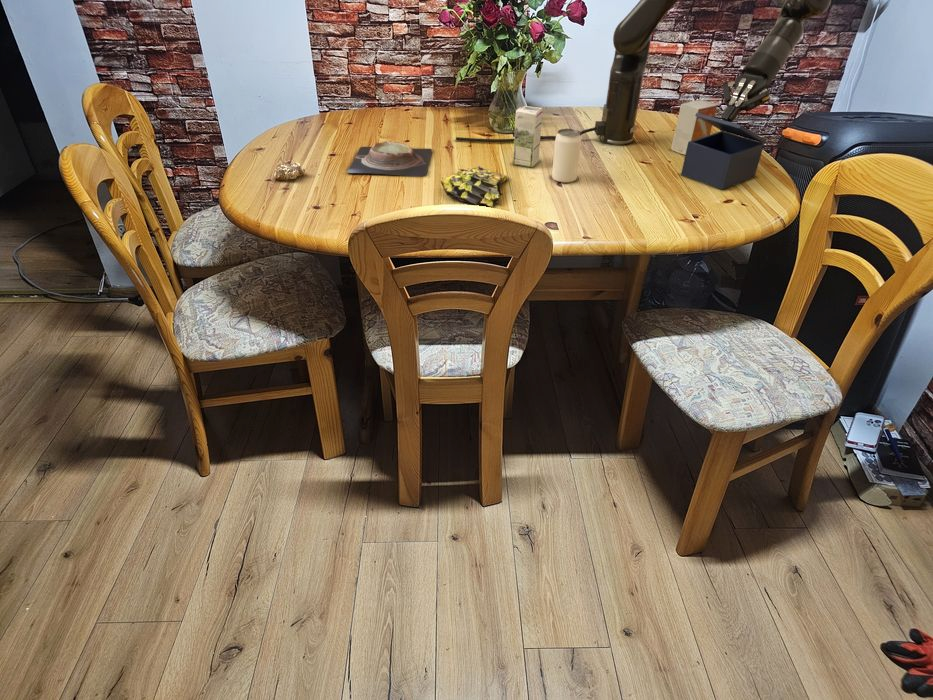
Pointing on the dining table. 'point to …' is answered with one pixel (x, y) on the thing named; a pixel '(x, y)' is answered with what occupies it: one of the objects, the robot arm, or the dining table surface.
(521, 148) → the syrup box
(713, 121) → the case lid
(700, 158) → the case
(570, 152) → the can
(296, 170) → the beige lumpy piece
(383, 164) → the quiche
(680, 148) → the small box
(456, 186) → the banana patterned fabric
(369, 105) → the dining table surface
